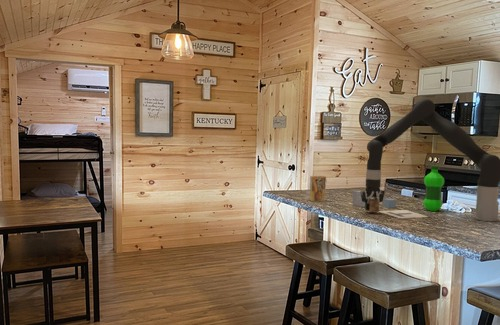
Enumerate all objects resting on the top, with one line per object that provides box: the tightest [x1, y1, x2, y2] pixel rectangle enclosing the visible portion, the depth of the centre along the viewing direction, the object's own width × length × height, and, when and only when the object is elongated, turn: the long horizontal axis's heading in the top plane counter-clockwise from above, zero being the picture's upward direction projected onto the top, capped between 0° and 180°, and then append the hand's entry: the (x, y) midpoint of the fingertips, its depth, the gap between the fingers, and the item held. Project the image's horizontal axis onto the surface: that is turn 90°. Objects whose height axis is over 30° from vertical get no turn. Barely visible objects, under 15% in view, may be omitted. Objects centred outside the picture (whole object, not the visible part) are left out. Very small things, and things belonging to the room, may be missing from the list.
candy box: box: [309, 175, 327, 202], centre depth 259 cm, size 9×4×15 cm, turn 103°
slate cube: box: [382, 198, 397, 209], centre depth 240 cm, size 5×5×5 cm
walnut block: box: [364, 198, 380, 213], centre depth 221 cm, size 5×5×6 cm
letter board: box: [378, 209, 429, 219], centre depth 220 cm, size 18×18×1 cm
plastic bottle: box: [422, 165, 445, 212], centre depth 235 cm, size 10×10×25 cm
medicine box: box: [352, 190, 367, 208], centre depth 243 cm, size 8×4×9 cm, turn 47°
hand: (371, 209), depth 221 cm, fingers closed on walnut block, 5 cm apart
